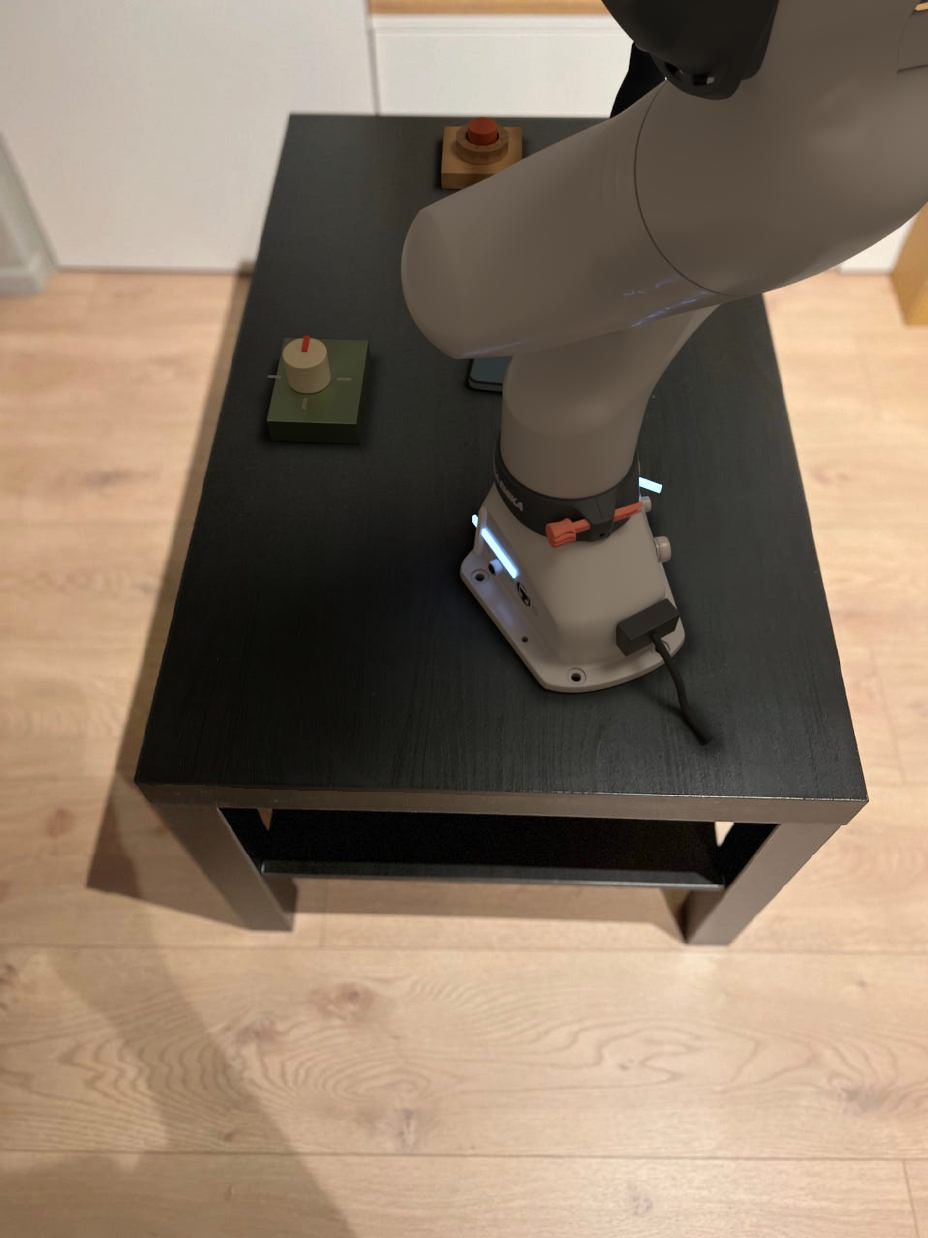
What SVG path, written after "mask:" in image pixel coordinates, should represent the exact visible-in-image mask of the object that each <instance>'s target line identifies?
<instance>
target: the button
mask: <svg viewBox="0 0 928 1238" xmlns="http://www.w3.org/2000/svg"><path fill="white" fill-rule="evenodd" d="M468 123H469V124H468ZM468 123H467V124H468V141H469V142H470V143H471V144H474V145H477V146H488V145H491V144H494V143H495V142H496V140H497V124H498V123H497V122H496V121H495V120H494V119H492V118H490V117H486V116H485V117H483V116H480V117H474V118H473V119H471V120H470V121H469V122H468Z"/></svg>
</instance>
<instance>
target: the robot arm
mask: <svg viewBox="0 0 928 1238" xmlns="http://www.w3.org/2000/svg"><path fill="white" fill-rule="evenodd" d="M600 1H601V3H602V4H603V6H604V7H605V9H606V10H607V11H608V12H609V15H611V17H612V18H613V19H614V21H615V22H616V23H617V24H618V26H619V27H620V28H621V29H622V30H623V32H624V33H625V34H626V35H627V36H628V37H629V38H630V39H631V40H632V42H635V43H636V44H637V45H638V46H640V47H641V48H643V49H645V50H646V51H648V52H649V53H650V55H651V57H652V59H653V60H654V62H655V64H656V65H657V67H658V68H659V70H660V71H661V72H662V74H663V75H664V76H665V81H663V82H662V83H661V84H659V85H658V86H657V87H655V88H654V89H653V90H651V91H650V92H649V93H647V94H646V95H645V96H643V97H642V98H641V99H640V100H638V101H637V102H636V103H634V104H633V105H631V106H630V107H629V108H627V109H626V110H625V111H623V112H622V113H620V114H618V115H617V116H615V117H613V118H611V119H609V118H608V119H606V120H604V121H602V122H600V123H597V124H595V125H592V126H590V127H588V128H586V129H584V130H581V131H579V132H577V133H574V134H572V135H570V136H568V137H566V138H563V139H562V140H560V141H557V142H555V143H553V144H551V145H549V146H546V147H544V148H543V149H540V150H539V151H537V152H534V153H533V154H530V155H528V156H526V157H525V158H522V160H521V161H519V162H517V163H515V164H513V165H511V166H510V167H508V168H506V169H504V170H502V171H500V172H498V173H496V174H495V175H493V176H491V177H489V178H487V179H485V180H482V181H480V182H478V183H476V184H474V185H472V186H470V187H467V188H465V189H459V190H458V191H456V192H453V193H452V194H450V195H447V196H446V197H444V198H441V199H439V200H437V201H435V202H433V203H431V204H429V205H427V206H425V207H423V208H421V209H420V210H419V211H418V212H417V213H416V215H415V217H414V219H412V220H413V221H412V222H411V223H410V226H409V229H408V231H407V233H406V236H405V239H404V242H403V247H402V252H401V258H400V281H401V288H402V289H401V290H402V294H403V298H404V301H405V304H406V307H407V309H408V312H409V314H410V316H411V318H412V320H413V321H414V324H415V325H416V326H417V328H418V330H419V331H420V332H421V333H422V334H423V336H424V337H425V338H426V339H427V340H428V342H429V343H431V344H432V345H433V346H434V347H435V348H437V350H439V351H440V352H442V353H443V354H445V355H446V356H448V357H450V358H451V359H454V360H471V359H472V360H473V359H474V358H492V357H504V356H512V358H511V360H510V362H509V364H508V367H507V369H506V373H505V376H504V380H503V392H502V391H501V393H502V394H501V395H502V396H501V416H500V417H501V418H500V419H501V420H500V429H499V431H498V433H497V435H496V436H497V437H496V439H495V440H496V441H495V445H494V447H493V454H492V467H493V468H492V469H493V480H494V481H493V482H492V486H491V487H490V488H489V491H488V493H487V494H486V497H485V499H484V500H483V502H482V503H481V506H480V508H479V509H478V515H476V514H474V515H472V523H473V525H474V526H475V528H476V529H475V534H474V535H475V536H474V544H473V549H471V551H470V552H469V553H468V554H467V555H466V557H465V558H464V559H463V561H462V562H461V565H460V569H459V577H460V579H461V580H462V582H463V583H464V585H465V586H466V587H467V589H468V590H469V591H470V592H471V594H472V596H474V598H475V599H476V601H477V602H478V603H479V604H480V606H481V607H482V608H483V610H484V611H485V613H486V614H487V615H488V617H489V618H490V619H491V620H492V622H493V623H494V625H495V626H496V627H497V629H498V630H499V632H501V634H502V635H503V637H504V638H505V640H506V641H507V642H508V644H509V645H510V646H511V647H512V649H513V650H514V651H515V653H516V655H518V657H519V658H520V660H521V661H522V662H523V663H524V665H525V666H526V668H527V669H528V670H529V672H530V673H531V674H532V676H533V677H534V678H535V679H536V681H537V682H538V683H539V684H540V685H541V686H542V687H543V688H544V689H546V690H549V691H553V692H559V693H568V694H569V693H571V694H572V693H573V694H575V693H588V692H595V691H599V690H604V689H608V688H612V687H616V686H619V685H622V684H625V683H628V682H630V681H633V680H636V679H638V678H640V677H644V676H645V675H646V674H649V673H652V672H653V671H655V670H656V669H658V668H660V667H662V666H663V665H665V666H666V668H667V670H668V672H669V674H670V677H671V679H672V681H673V683H674V686H675V691H676V695H677V700H678V704H679V707H680V709H681V712H682V714H683V716H684V718H685V719H686V721H687V722H688V724H689V725H690V726H691V727H692V729H693V730H694V731H695V732H696V733H697V734H698V735H699V737H701V739H703V741H704V743H706V744H707V743H710V742H711V741H712V740H713V739H714V737H713V736H712V734H711V733H710V732H709V731H708V730H707V729H706V728H705V726H703V724H702V723H701V722H700V721H699V719H698V718H697V717H696V715H695V714H694V712H693V711H692V709H691V707H690V704H689V701H688V698H687V693H686V688H685V683H684V681H683V678H682V676H681V673H680V670H679V668H678V667H677V665H676V663H675V661H674V658H673V657H674V656H675V655H676V654H677V653H678V652H679V650H681V648H682V647H683V645H684V643H685V637H686V634H685V629H684V626H683V623H682V619H681V612H680V611H679V610H678V607H677V605H676V602H675V598H674V596H673V593H672V589H671V587H670V583H669V580H668V578H667V575H666V572H665V568H664V565H663V563H667V562H669V561H670V560H671V558H672V548H671V544H670V540H669V538H668V537H667V536H665V535H660V536H654V535H653V533H652V530H651V527H650V523H649V521H648V517H647V513H648V512H651V510H652V500H651V498H650V496H642V495H641V487H642V488H645V489H647V490H650V491H652V492H656V493H658V494H660V493H661V492H662V487H663V485H662V484H659V483H656V482H654V481H651V480H649V479H646V478H643V477H641V461H640V460H639V459H640V458H639V457H640V456H639V448H638V439H639V435H640V431H641V427H642V423H643V421H644V420H643V419H644V416H645V413H646V409H647V406H648V403H649V400H650V398H651V396H652V394H653V391H654V389H655V388H656V385H657V384H658V382H659V381H660V379H661V377H662V376H663V374H664V373H665V372H666V370H667V368H668V367H669V365H670V364H671V363H672V361H673V360H674V358H675V357H676V356H677V354H678V353H679V352H680V350H681V349H682V348H683V347H684V346H685V344H686V343H687V341H688V340H689V339H690V338H691V337H692V336H693V334H694V333H695V332H696V330H697V329H698V328H699V327H700V326H701V325H702V324H703V323H704V321H705V320H706V319H708V318H709V316H710V315H712V313H713V312H714V311H715V310H717V308H718V307H719V306H721V305H722V304H726V303H730V302H733V301H737V300H741V299H746V298H749V297H753V296H754V297H755V296H756V295H761V294H765V293H768V292H772V291H775V290H778V289H782V288H785V287H787V286H791V285H794V284H797V283H799V282H801V281H804V280H807V279H810V278H812V277H815V276H817V275H819V274H822V273H823V272H825V271H828V270H830V269H832V268H834V267H836V266H839V265H841V264H842V263H844V262H846V261H848V260H850V259H852V258H853V257H855V256H857V255H859V254H861V253H862V252H865V251H866V250H868V249H869V248H871V247H872V246H874V245H876V244H878V243H879V242H881V241H882V240H883V239H885V238H887V237H889V236H890V235H891V234H893V233H894V232H895V231H898V230H899V229H900V228H902V227H903V226H904V225H905V224H906V223H908V222H909V221H910V220H911V219H912V218H913V217H914V216H916V215H917V214H918V213H919V212H920V211H921V210H922V209H923V207H925V205H926V204H927V203H928V8H924V9H917V7H918V6H919V5H923V4H927V3H928V0H600ZM478 579H482V580H481V581H480V580H478ZM573 678H577V679H579V680H578V681H575V680H573Z"/></svg>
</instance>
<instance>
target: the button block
mask: <svg viewBox="0 0 928 1238" xmlns="http://www.w3.org/2000/svg"><path fill="white" fill-rule="evenodd" d="M468 124H469V122H468V123H466V124H463V125H462V126H455V125H454V126H452V125H451V126H449V125H448V126H447V125H445V126H443V138H442V152H441V153H442V154H441V170H440V177H441V179H440V180H441V181H440V182H441V183H440V184H441V190H463V189H465V188H467V187H470V186H472V185H474V184H476V183H478V182H480V181H482V180H485V179H487V178H489V177H491V176H493V175H495V174H496V173H498V172H500V171H502V170H504V169H506V168H508V167H510V166H511V165H513V164H515V163H517V162H519V161H521V160H523V126H503V125H502V124H499V123H497V140H496V142H495V143H494V144H491V145H488V146H477V145H474V144H471V143H470V142H469V141H468Z"/></svg>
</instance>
